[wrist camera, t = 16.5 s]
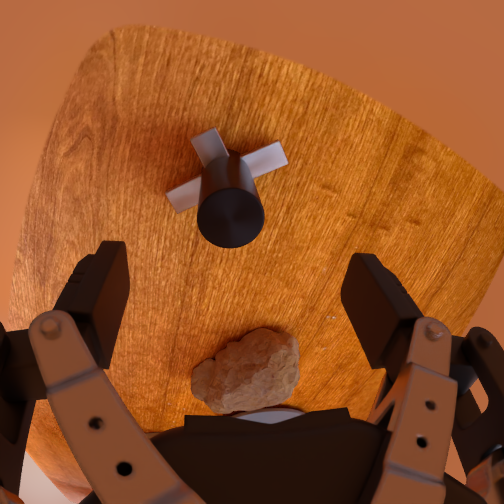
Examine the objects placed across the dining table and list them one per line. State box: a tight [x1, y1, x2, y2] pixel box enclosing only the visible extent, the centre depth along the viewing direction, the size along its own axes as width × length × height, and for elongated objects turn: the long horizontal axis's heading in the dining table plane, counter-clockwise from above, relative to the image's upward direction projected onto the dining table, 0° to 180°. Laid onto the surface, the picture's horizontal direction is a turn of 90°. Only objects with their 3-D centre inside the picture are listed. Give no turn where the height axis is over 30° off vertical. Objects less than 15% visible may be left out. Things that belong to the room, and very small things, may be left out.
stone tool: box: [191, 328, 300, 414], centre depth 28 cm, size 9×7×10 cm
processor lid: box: [231, 408, 305, 424], centre depth 36 cm, size 14×14×7 cm
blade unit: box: [165, 126, 288, 248], centre depth 17 cm, size 8×6×7 cm
